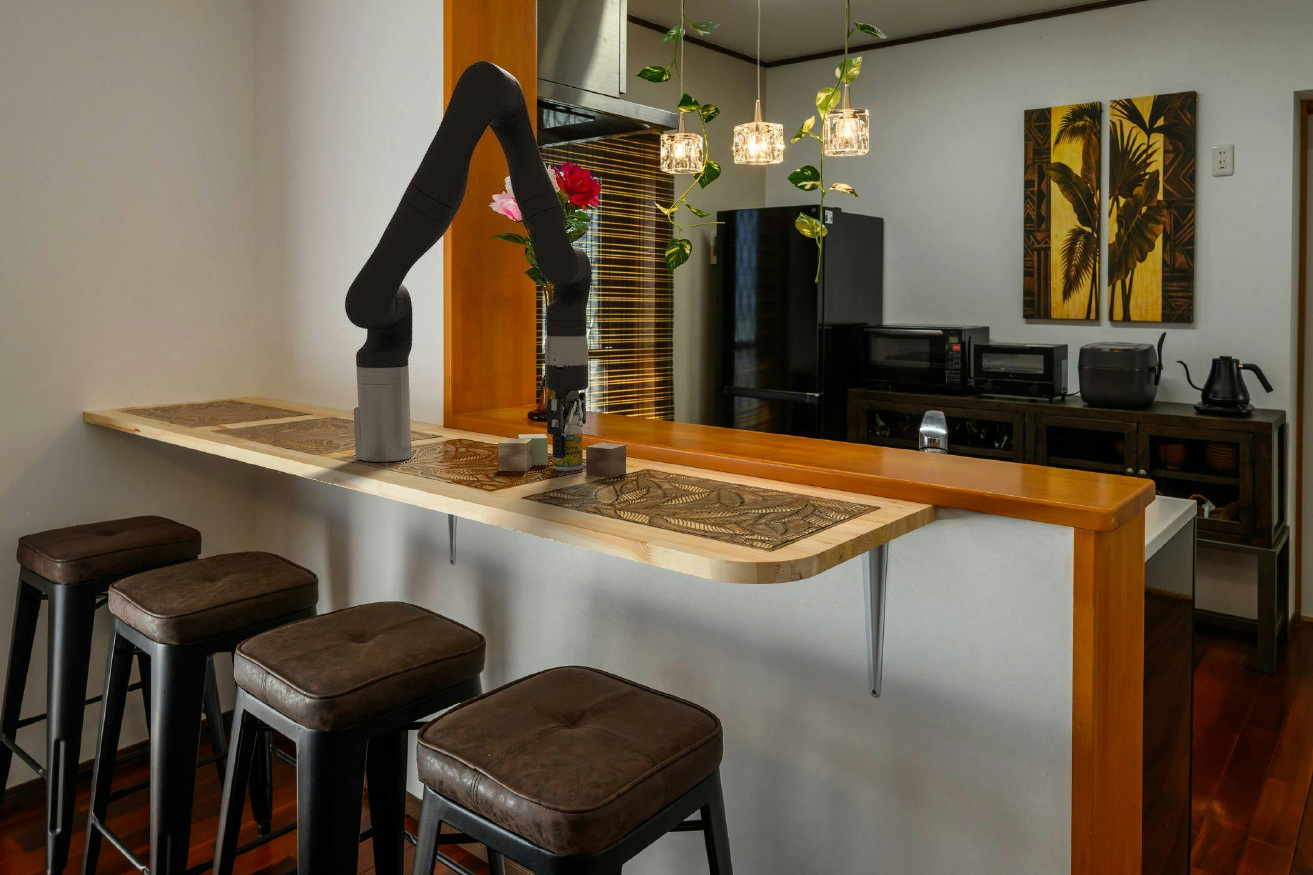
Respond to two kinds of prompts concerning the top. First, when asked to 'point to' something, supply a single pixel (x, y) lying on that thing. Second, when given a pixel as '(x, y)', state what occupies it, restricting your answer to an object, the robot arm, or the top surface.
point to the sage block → (538, 448)
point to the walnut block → (605, 460)
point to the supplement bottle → (571, 449)
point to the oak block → (515, 454)
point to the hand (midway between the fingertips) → (567, 453)
